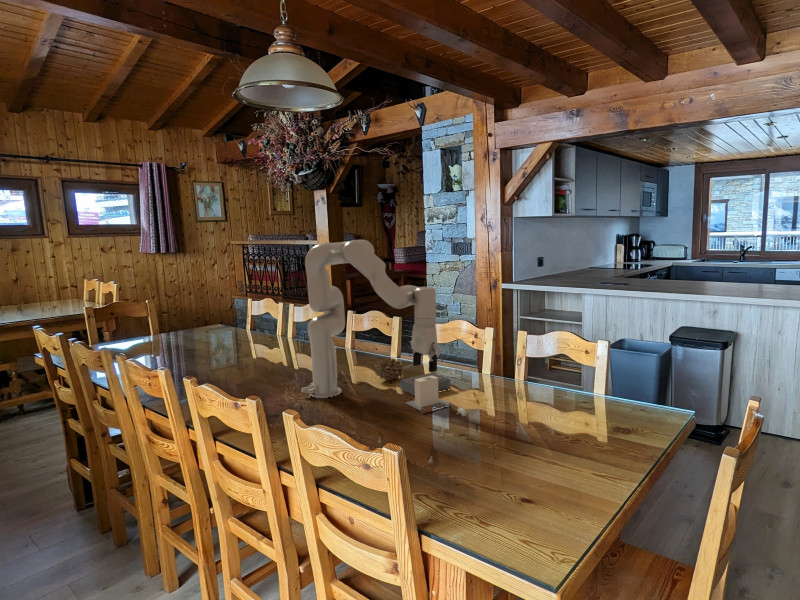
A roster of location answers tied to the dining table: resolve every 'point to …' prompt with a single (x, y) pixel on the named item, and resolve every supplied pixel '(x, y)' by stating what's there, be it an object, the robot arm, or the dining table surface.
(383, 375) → the pine cone
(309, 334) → the robot arm
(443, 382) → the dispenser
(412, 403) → the mat
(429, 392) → the cream upright block
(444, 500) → the dining table surface
